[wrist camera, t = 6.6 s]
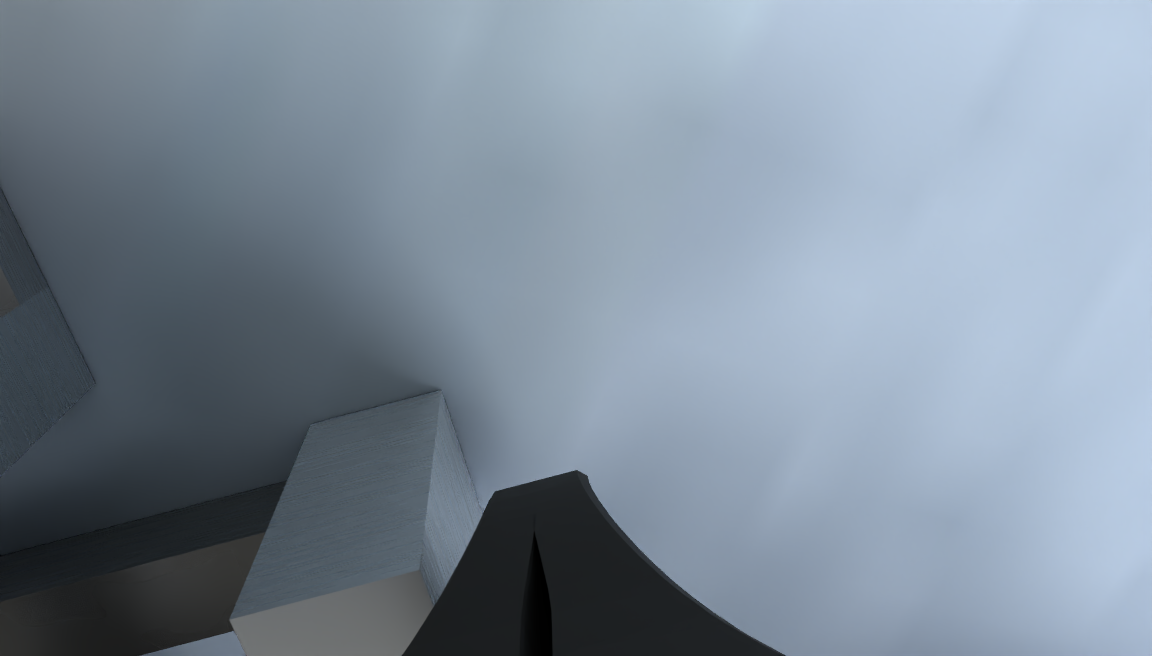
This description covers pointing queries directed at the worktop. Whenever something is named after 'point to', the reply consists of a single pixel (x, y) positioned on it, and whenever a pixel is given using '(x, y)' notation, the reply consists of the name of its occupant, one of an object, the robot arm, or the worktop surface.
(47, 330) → the housing
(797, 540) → the worktop surface
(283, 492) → the plug
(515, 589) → the robot arm
